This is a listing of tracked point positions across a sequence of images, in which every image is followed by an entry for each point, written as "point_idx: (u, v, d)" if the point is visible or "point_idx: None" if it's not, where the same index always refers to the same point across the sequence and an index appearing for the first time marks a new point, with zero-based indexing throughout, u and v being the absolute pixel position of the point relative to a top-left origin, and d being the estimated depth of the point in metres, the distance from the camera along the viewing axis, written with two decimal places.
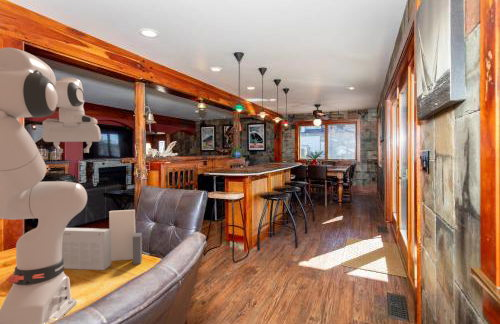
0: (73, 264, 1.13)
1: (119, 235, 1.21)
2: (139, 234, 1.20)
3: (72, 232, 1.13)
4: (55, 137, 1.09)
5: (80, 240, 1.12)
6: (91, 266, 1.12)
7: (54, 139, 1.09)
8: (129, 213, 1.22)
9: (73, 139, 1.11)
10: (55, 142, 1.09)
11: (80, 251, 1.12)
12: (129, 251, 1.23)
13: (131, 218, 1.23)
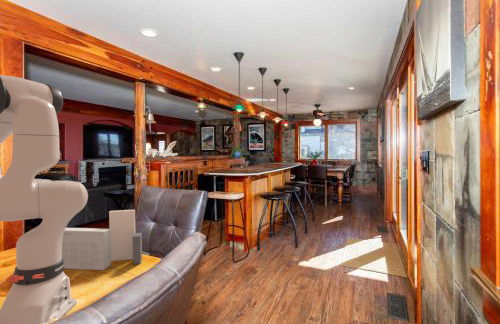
0: (73, 264, 1.13)
1: (119, 235, 1.21)
2: (139, 234, 1.20)
3: (72, 232, 1.13)
4: None
5: (80, 240, 1.12)
6: (91, 266, 1.12)
7: None
8: (129, 213, 1.22)
9: None
10: None
11: (80, 251, 1.12)
12: (129, 251, 1.23)
13: (131, 218, 1.23)
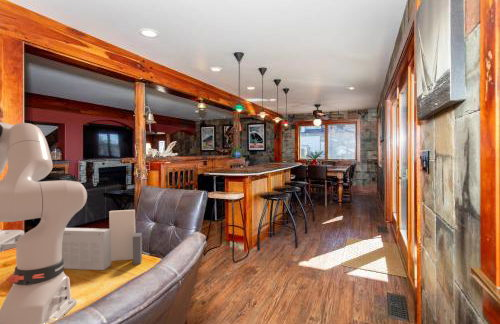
0: (73, 264, 1.13)
1: (119, 235, 1.21)
2: (139, 234, 1.20)
3: (72, 232, 1.13)
4: None
5: (80, 240, 1.12)
6: (91, 266, 1.12)
7: (0, 242, 1.02)
8: (129, 213, 1.22)
9: (10, 236, 1.09)
10: (3, 243, 1.03)
11: (80, 251, 1.12)
12: (129, 251, 1.23)
13: (131, 218, 1.23)
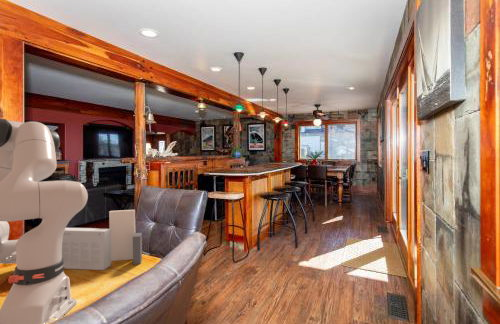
0: (73, 264, 1.13)
1: (119, 235, 1.21)
2: (139, 234, 1.20)
3: (72, 232, 1.13)
4: None
5: (80, 240, 1.12)
6: (91, 265, 1.12)
7: None
8: (129, 213, 1.22)
9: None
10: None
11: (80, 251, 1.12)
12: (129, 251, 1.23)
13: (131, 218, 1.23)
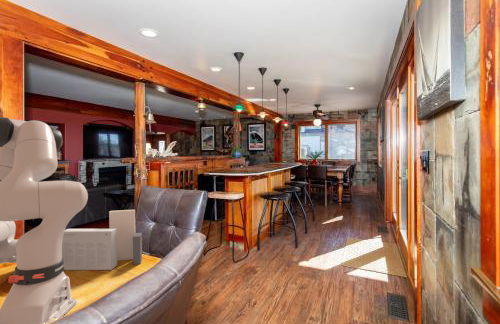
0: (78, 265, 1.11)
1: (119, 235, 1.21)
2: (139, 234, 1.20)
3: (77, 233, 1.12)
4: None
5: (86, 241, 1.11)
6: (98, 266, 1.11)
7: None
8: (129, 213, 1.22)
9: None
10: None
11: (85, 252, 1.11)
12: (129, 251, 1.23)
13: (131, 218, 1.23)
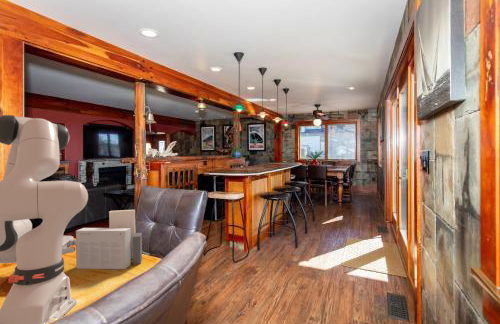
0: (93, 264, 1.13)
1: None
2: (139, 234, 1.20)
3: (92, 232, 1.13)
4: None
5: (101, 240, 1.13)
6: (112, 265, 1.12)
7: None
8: (129, 213, 1.22)
9: (64, 242, 1.13)
10: None
11: (100, 251, 1.13)
12: None
13: (131, 218, 1.23)
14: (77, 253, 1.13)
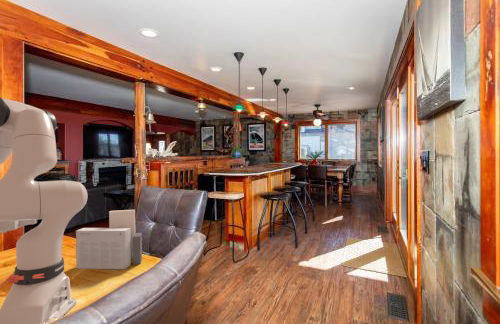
0: (93, 264, 1.13)
1: None
2: (139, 234, 1.20)
3: (92, 232, 1.13)
4: None
5: (101, 240, 1.13)
6: (112, 265, 1.12)
7: None
8: (129, 213, 1.22)
9: None
10: (21, 220, 1.03)
11: (100, 251, 1.13)
12: None
13: (131, 218, 1.23)
14: (77, 253, 1.13)
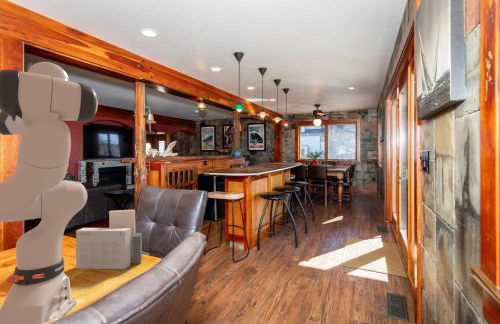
0: (93, 264, 1.13)
1: None
2: (139, 234, 1.20)
3: (92, 232, 1.13)
4: None
5: (101, 240, 1.13)
6: (112, 265, 1.12)
7: None
8: (129, 213, 1.22)
9: None
10: None
11: (100, 251, 1.13)
12: None
13: (131, 218, 1.23)
14: (77, 253, 1.13)
